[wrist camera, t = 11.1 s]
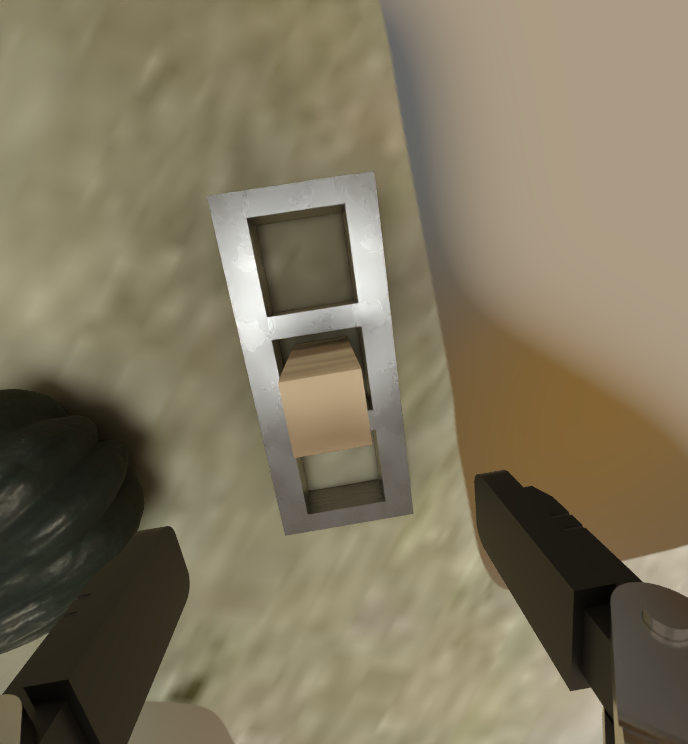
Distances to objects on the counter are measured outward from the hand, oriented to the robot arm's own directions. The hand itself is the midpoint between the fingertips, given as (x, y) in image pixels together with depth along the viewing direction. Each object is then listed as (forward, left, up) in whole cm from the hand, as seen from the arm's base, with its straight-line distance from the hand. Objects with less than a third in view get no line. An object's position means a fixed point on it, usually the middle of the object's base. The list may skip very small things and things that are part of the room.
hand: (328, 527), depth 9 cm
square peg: (0, 0, -18) cm, 18 cm away
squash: (+5, -21, -18) cm, 28 cm away
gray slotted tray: (0, 0, -18) cm, 18 cm away
